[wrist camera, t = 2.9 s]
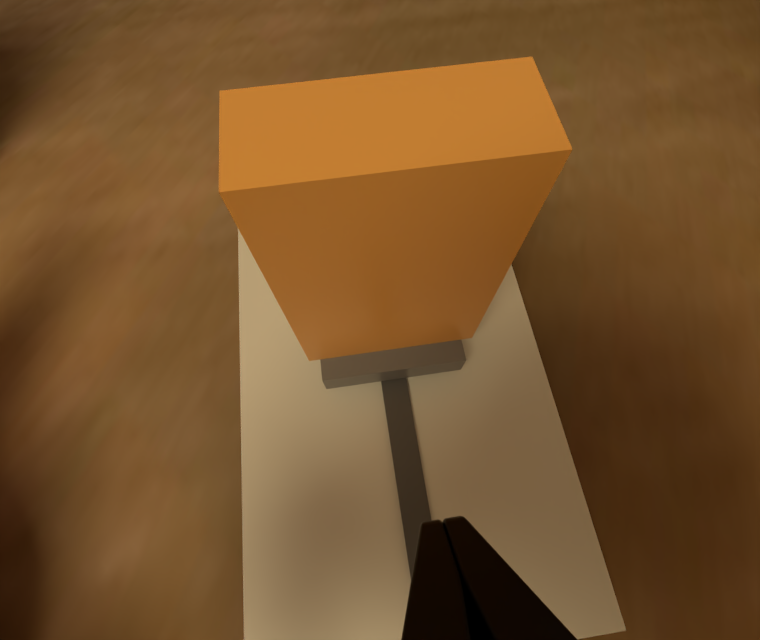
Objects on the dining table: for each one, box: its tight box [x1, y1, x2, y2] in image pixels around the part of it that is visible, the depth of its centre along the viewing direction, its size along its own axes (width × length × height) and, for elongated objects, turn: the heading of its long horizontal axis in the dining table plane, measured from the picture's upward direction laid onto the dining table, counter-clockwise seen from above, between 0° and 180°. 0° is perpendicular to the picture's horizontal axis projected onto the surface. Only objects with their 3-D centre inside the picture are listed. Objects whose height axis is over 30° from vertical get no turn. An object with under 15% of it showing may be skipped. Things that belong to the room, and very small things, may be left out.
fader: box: [219, 57, 572, 389], centre depth 12 cm, size 4×6×10 cm, turn 98°
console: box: [238, 229, 626, 640], centre depth 18 cm, size 20×12×2 cm, turn 8°
